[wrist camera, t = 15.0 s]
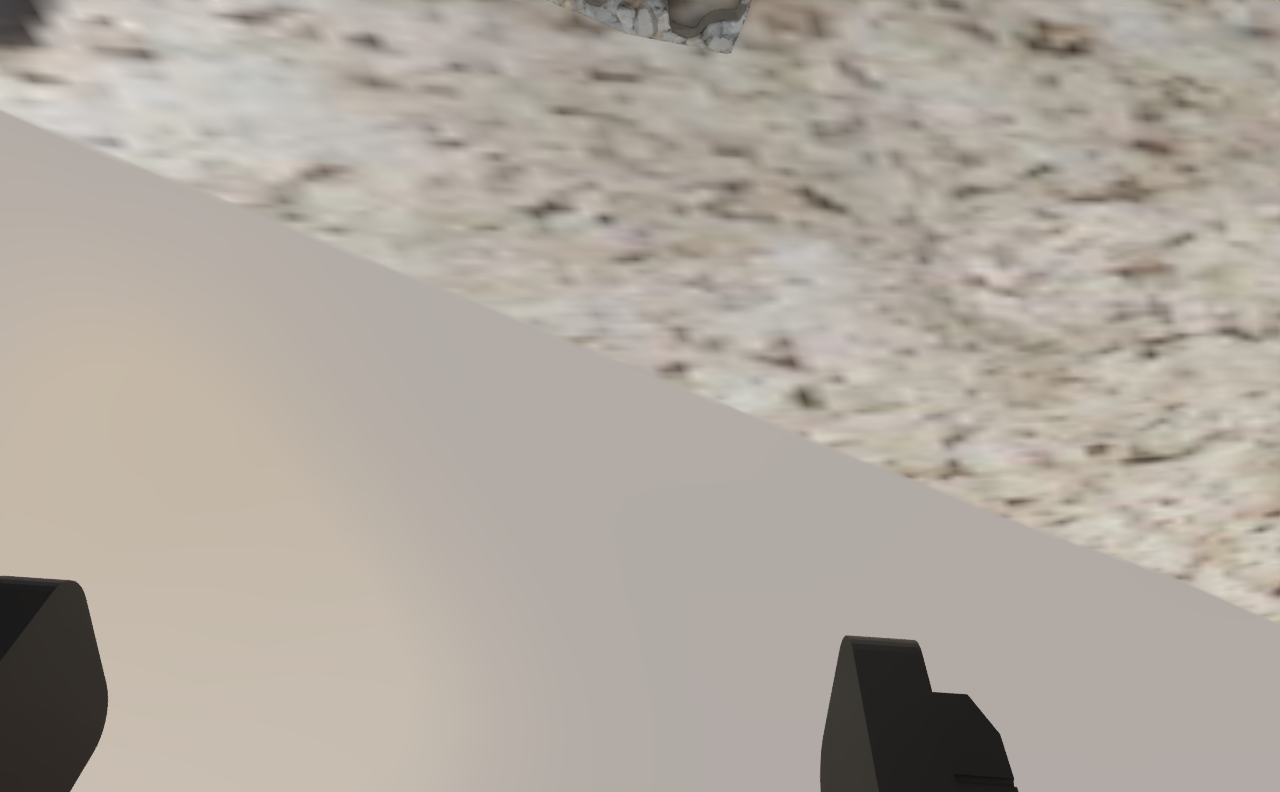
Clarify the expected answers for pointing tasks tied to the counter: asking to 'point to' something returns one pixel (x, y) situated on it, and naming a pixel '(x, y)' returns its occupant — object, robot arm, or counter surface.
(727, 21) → the grey scalloped block
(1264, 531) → the counter surface
